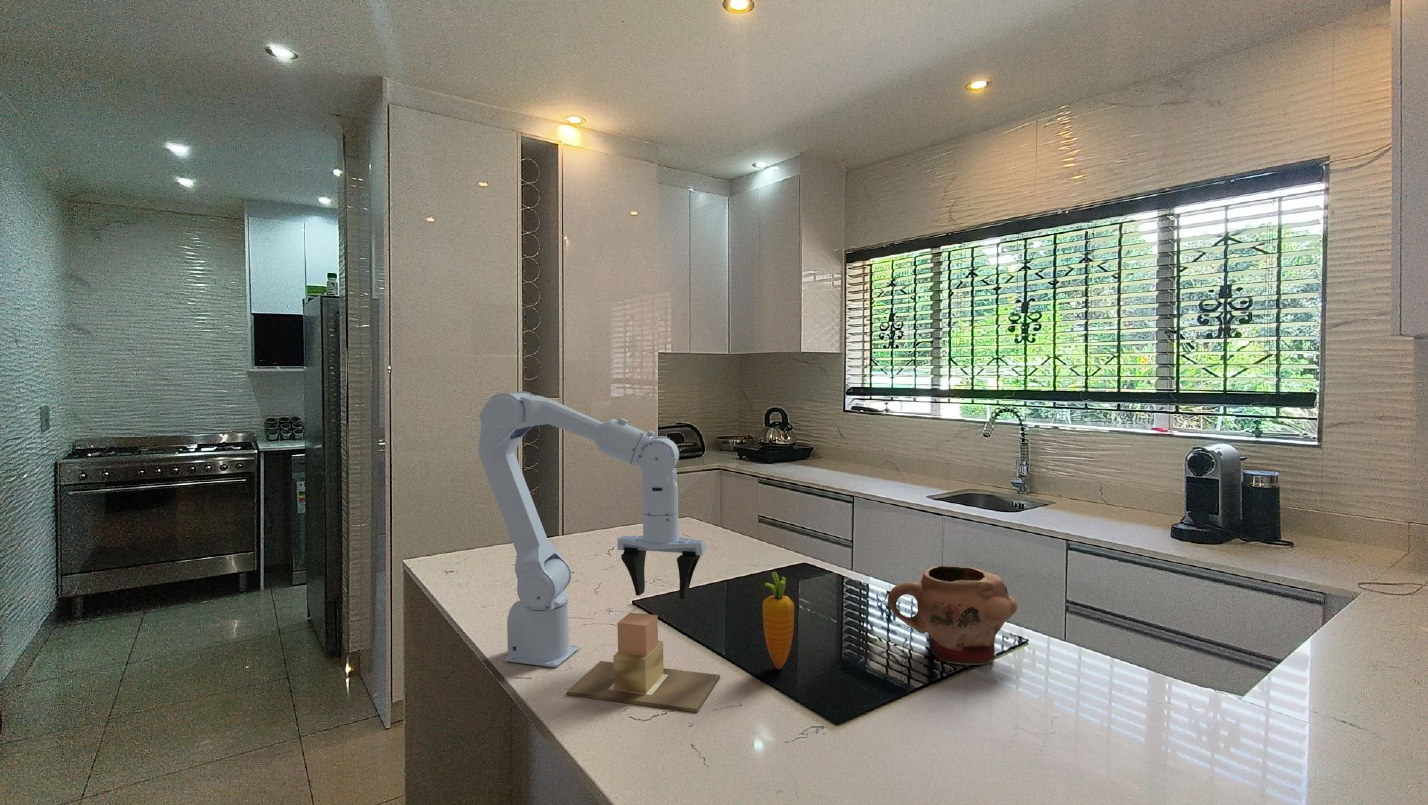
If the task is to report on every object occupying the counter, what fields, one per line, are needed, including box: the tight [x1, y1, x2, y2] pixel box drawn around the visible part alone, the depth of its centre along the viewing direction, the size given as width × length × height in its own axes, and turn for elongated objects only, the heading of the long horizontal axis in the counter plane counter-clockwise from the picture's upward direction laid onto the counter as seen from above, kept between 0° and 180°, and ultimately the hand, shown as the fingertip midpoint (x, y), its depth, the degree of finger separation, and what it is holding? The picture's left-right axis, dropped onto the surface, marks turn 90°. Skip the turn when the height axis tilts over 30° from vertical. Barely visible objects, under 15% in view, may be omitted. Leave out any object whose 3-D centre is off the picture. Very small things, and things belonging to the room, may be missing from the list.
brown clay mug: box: [887, 565, 1018, 666], centre depth 111 cm, size 20×12×14 cm, turn 89°
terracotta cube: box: [616, 612, 659, 656], centre depth 102 cm, size 4×4×4 cm
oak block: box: [612, 640, 664, 694], centre depth 102 cm, size 5×7×5 cm
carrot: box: [762, 571, 795, 670], centre depth 107 cm, size 5×5×15 cm
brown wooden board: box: [566, 660, 721, 714], centre depth 102 cm, size 20×11×1 cm, turn 73°
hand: (661, 595), depth 111 cm, fingers open, 7 cm apart
